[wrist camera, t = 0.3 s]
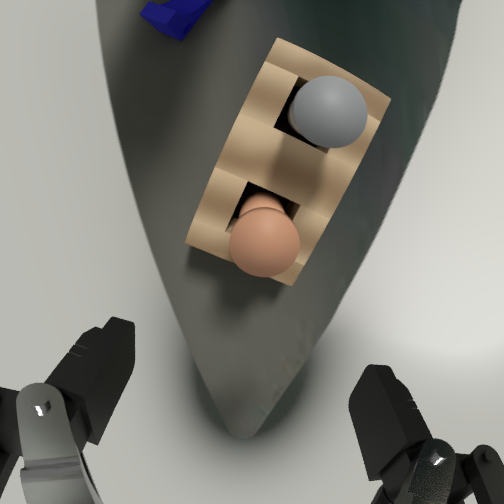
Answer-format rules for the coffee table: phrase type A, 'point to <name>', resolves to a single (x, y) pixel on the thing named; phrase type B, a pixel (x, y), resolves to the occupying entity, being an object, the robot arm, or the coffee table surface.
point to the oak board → (282, 158)
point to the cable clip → (175, 16)
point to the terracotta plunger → (263, 237)
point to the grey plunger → (328, 112)
